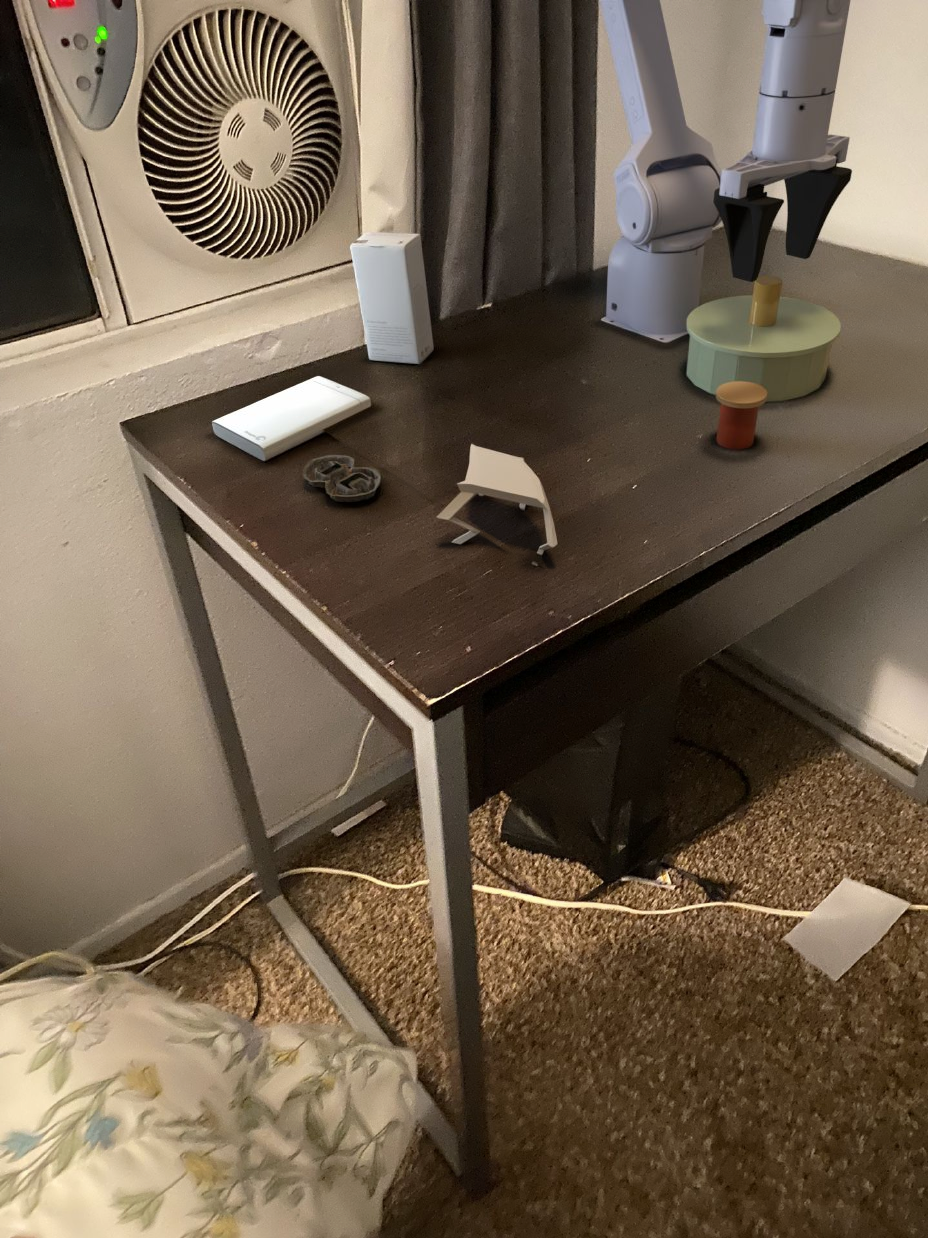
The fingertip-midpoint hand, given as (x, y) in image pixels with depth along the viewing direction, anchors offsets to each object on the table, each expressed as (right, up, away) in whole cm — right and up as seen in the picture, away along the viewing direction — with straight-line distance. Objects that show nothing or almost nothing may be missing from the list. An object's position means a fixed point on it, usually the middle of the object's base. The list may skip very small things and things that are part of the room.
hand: (771, 267), depth 80 cm
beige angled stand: (-24, -25, -11) cm, 36 cm away
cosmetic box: (-34, -3, +16) cm, 38 cm away
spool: (-4, -16, -3) cm, 17 cm away
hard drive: (-43, -13, +5) cm, 45 cm away
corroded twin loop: (-37, -20, -4) cm, 42 cm away
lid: (0, -4, +4) cm, 6 cm away
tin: (+1, -8, +7) cm, 10 cm away
